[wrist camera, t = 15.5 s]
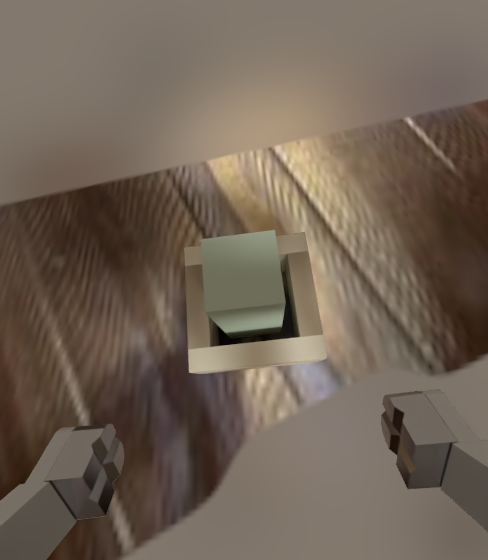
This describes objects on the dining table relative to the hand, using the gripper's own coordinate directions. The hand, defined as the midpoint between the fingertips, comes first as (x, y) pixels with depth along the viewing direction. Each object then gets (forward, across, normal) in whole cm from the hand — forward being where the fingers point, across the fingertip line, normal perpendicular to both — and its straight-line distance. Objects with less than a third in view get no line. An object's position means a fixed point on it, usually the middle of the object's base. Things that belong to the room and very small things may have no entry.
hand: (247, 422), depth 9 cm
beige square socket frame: (+15, 0, +6) cm, 16 cm away
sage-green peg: (+15, 0, +6) cm, 16 cm away
